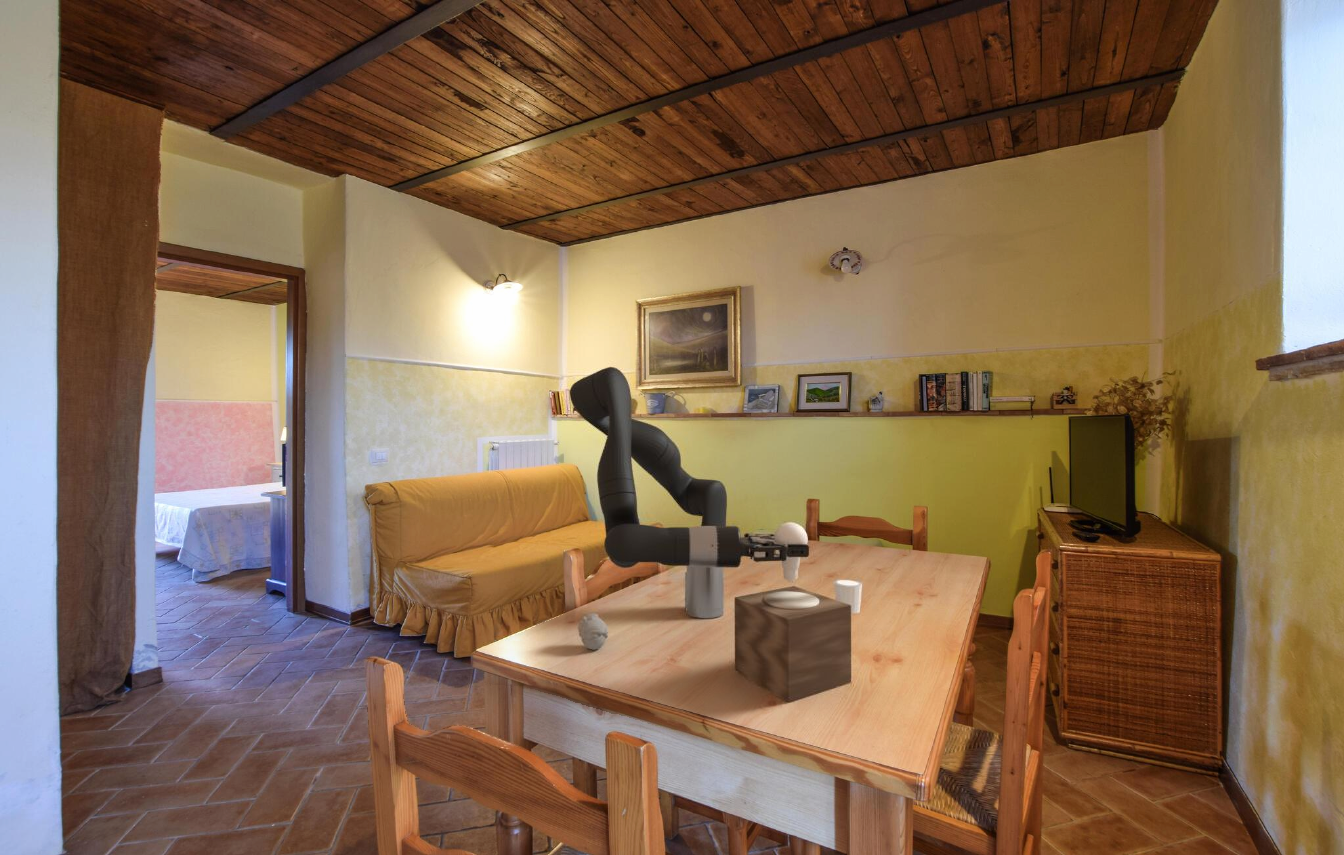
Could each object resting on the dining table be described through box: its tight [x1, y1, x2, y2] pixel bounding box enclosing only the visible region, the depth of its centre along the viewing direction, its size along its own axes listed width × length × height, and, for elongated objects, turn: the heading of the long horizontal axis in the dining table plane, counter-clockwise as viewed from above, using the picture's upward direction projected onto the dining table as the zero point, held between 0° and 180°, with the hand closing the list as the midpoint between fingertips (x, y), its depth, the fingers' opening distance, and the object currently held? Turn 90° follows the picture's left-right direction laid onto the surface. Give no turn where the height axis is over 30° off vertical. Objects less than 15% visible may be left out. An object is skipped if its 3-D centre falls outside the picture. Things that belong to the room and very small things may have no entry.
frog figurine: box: [577, 613, 609, 651], centre depth 123 cm, size 6×7×7 cm
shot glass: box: [833, 579, 863, 615], centre depth 148 cm, size 7×7×7 cm
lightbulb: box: [773, 521, 809, 583], centre depth 109 cm, size 6×6×11 cm
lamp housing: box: [734, 585, 852, 704], centre depth 109 cm, size 15×15×14 cm
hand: (803, 546), depth 109 cm, fingers closed on lightbulb, 5 cm apart
